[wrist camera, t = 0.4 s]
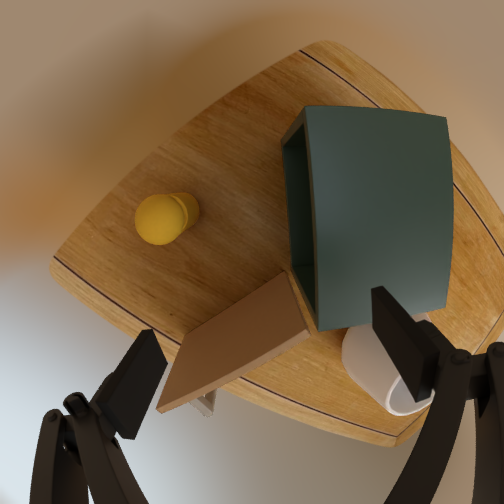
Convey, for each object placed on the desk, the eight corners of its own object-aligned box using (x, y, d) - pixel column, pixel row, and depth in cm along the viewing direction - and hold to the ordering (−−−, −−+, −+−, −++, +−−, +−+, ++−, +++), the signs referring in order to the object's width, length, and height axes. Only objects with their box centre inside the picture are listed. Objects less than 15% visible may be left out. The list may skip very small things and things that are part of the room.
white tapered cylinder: (416, 347, 38) (460, 398, 24) (340, 378, 39) (368, 444, 25) (411, 273, 35) (472, 313, 21) (324, 305, 36) (359, 367, 22)
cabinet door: (309, 305, 36) (340, 375, 21) (211, 364, 38) (196, 442, 23) (284, 270, 34) (306, 328, 20) (184, 335, 37) (155, 409, 22)
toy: (159, 198, 32) (120, 205, 22) (194, 186, 32) (168, 187, 22) (169, 234, 34) (136, 256, 23) (205, 223, 33) (184, 241, 23)
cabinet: (291, 272, 35) (317, 332, 20) (280, 139, 31) (304, 105, 16) (379, 262, 35) (445, 307, 20) (374, 138, 31) (446, 117, 16)
